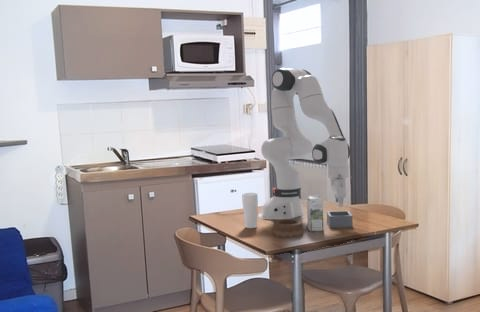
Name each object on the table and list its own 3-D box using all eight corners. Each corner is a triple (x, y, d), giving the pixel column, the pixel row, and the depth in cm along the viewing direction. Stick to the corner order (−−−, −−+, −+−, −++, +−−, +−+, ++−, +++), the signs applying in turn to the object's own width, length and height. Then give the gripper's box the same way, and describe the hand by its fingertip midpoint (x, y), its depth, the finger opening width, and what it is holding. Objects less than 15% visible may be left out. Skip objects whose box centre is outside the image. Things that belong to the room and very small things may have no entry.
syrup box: (320, 227, 219) (319, 194, 218) (323, 231, 213) (323, 197, 212) (307, 228, 219) (306, 195, 217) (310, 232, 213) (309, 198, 211)
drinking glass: (247, 230, 221) (245, 196, 219) (241, 226, 227) (239, 193, 226) (261, 227, 224) (259, 194, 222) (254, 224, 230) (253, 192, 228)
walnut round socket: (274, 238, 206) (273, 226, 206) (274, 230, 218) (273, 219, 217) (303, 237, 206) (303, 225, 205) (301, 229, 217) (301, 218, 217)
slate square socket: (329, 227, 219) (329, 216, 218) (327, 222, 228) (326, 211, 228) (352, 227, 218) (352, 215, 218) (349, 221, 228) (348, 210, 227)
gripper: (349, 176, 210) (350, 209, 212) (342, 169, 231) (342, 199, 232) (334, 177, 211) (334, 209, 212) (328, 170, 231) (329, 200, 232)
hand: (339, 204), depth 222 cm, fingers open, 8 cm apart
